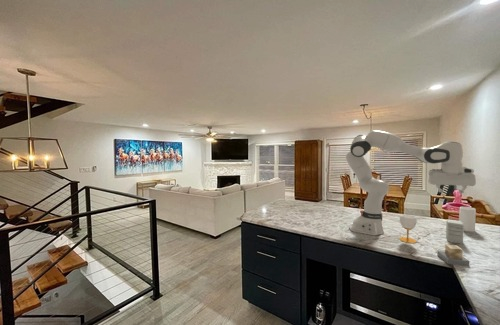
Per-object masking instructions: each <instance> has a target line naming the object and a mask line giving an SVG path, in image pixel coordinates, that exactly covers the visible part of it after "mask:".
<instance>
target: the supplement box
mask: <svg viewBox="0 0 500 325" xmlns="http://www.w3.org/2000/svg"><path fill="white" fill-rule="evenodd" d="M445 227H446V229H445V232H446V233H445V236H446V237H445V238H446V242H449V243H450V242H452V243H455V244H462V245H463V244H464V230H463V223H462V221H459V220H455V219H449V218H448V219H446V226H445Z"/></svg>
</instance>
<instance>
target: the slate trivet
mask: <svg viewBox="0 0 500 325" xmlns="http://www.w3.org/2000/svg"><path fill="white" fill-rule="evenodd" d="M437 256H438V257H439V258H440V259H441V260H443V261H444V262H445V263H446V264H447V265H456V266H470V260H469V259H467V258H466V257H464V255H462V259H458V258H450V257H449V256H448V255H447V254H446V253H445V250H444V251H442V250H437Z"/></svg>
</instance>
